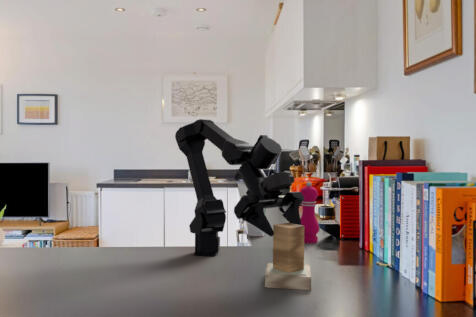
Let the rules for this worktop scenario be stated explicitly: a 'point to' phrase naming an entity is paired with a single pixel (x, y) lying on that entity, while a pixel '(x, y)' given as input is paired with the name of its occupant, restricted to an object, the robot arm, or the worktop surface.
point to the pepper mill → (309, 214)
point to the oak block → (288, 247)
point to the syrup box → (255, 229)
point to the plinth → (288, 278)
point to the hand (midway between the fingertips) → (287, 233)
